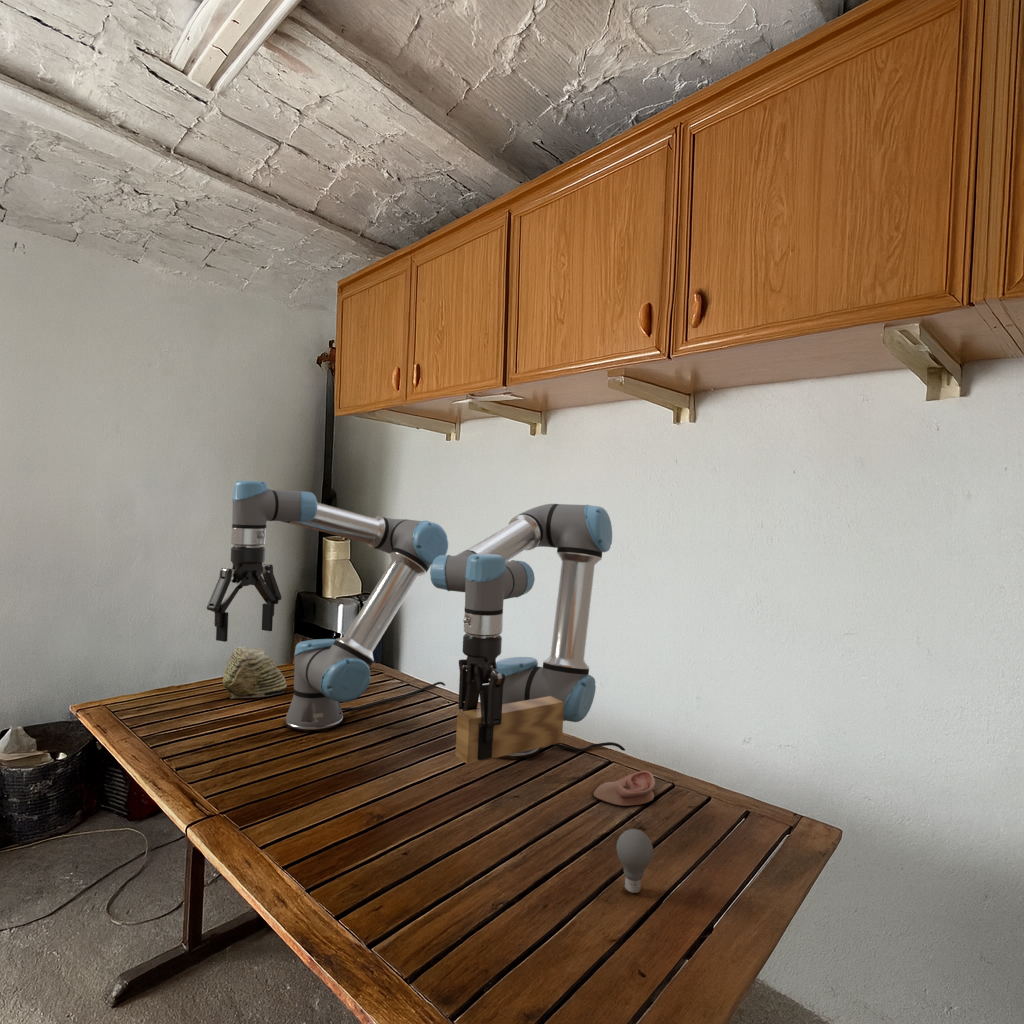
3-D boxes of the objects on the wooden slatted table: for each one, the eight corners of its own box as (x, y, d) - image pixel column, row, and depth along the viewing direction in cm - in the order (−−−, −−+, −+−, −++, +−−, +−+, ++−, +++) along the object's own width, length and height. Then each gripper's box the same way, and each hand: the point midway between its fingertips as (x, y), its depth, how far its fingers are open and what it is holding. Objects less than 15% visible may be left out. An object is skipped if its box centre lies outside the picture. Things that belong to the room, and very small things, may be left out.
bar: (548, 735, 136) (550, 695, 136) (562, 742, 132) (564, 701, 132) (455, 755, 123) (457, 712, 123) (467, 764, 119) (469, 719, 119)
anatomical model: (593, 783, 136) (596, 762, 147) (592, 802, 136) (596, 779, 148) (656, 792, 134) (655, 770, 145) (655, 810, 134) (654, 787, 145)
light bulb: (610, 879, 108) (613, 822, 108) (644, 879, 109) (647, 822, 109) (619, 902, 102) (622, 840, 102) (655, 901, 103) (658, 840, 103)
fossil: (218, 695, 195) (220, 647, 195) (278, 685, 208) (279, 640, 207) (228, 703, 189) (230, 653, 188) (289, 692, 201) (290, 645, 201)
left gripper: (216, 549, 137) (212, 647, 137) (298, 544, 159) (295, 628, 160) (191, 547, 140) (188, 643, 140) (275, 542, 162) (272, 624, 163)
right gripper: (443, 626, 128) (438, 741, 128) (490, 645, 113) (485, 774, 114) (475, 624, 132) (470, 735, 132) (524, 641, 118) (519, 766, 118)
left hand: (245, 635), depth 150 cm, fingers open, 13 cm apart
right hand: (477, 753), depth 123 cm, fingers closed on bar, 5 cm apart
